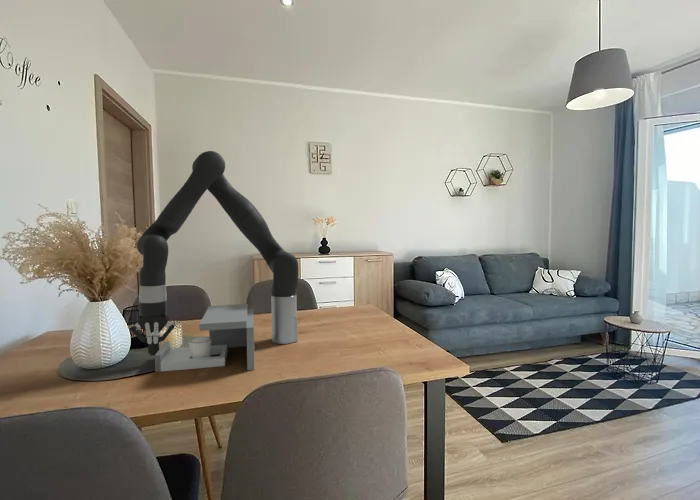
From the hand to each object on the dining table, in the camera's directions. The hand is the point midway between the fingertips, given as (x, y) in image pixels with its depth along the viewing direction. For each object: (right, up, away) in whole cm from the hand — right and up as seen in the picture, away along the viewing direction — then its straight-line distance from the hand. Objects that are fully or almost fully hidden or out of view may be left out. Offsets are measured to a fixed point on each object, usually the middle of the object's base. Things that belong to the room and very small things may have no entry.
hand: (153, 354), depth 116 cm
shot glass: (+13, -3, +3) cm, 14 cm away
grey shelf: (+21, -3, +6) cm, 22 cm away
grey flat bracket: (+11, -3, +3) cm, 12 cm away
